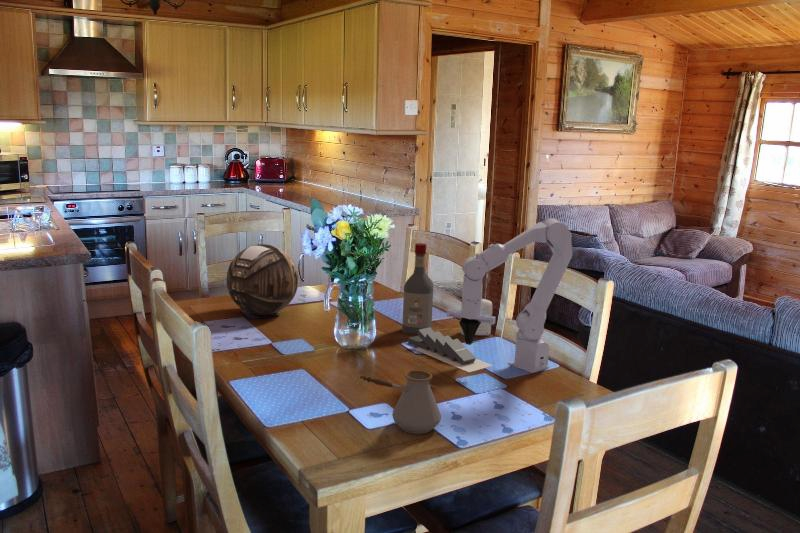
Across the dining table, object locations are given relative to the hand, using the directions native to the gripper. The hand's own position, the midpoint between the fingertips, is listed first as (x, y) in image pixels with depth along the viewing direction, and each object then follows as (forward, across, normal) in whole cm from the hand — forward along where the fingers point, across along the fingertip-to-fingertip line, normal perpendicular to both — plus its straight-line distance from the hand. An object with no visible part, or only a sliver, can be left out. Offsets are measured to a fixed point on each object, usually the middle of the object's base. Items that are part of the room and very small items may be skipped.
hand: (469, 343), depth 205 cm
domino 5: (+5, 0, 0) cm, 5 cm away
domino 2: (+5, +11, -5) cm, 13 cm away
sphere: (+7, +82, -8) cm, 83 cm away
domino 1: (+5, +14, -6) cm, 16 cm away
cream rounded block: (+7, +9, -29) cm, 31 cm away
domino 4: (+5, +3, -1) cm, 6 cm away
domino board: (+6, +6, -3) cm, 9 cm away
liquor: (+7, +27, -20) cm, 34 cm away
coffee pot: (+7, -3, +50) cm, 51 cm away
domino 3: (+5, +7, -3) cm, 10 cm away
